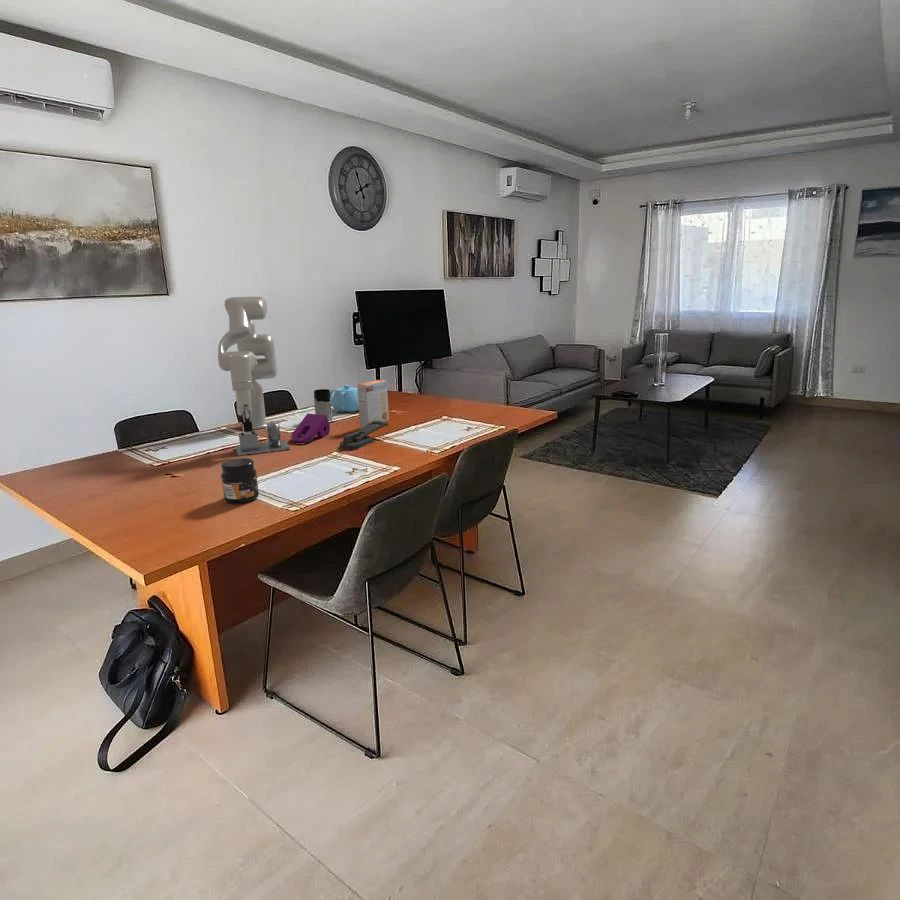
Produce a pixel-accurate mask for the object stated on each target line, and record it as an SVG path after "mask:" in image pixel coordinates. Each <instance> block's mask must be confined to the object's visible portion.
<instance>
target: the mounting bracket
mask: <svg viewBox="0 0 900 900" xmlns="http://www.w3.org/2000/svg"><path fill="white" fill-rule="evenodd" d="M330 428H331V425H330V422H328V419H327V416H326V415H320V414H315V413H307V414H306V415H305V416H304V417H303V419H302V421H300V422H299V424H298V425H297V427H296V428H295V429H294V431H293V432H292V433H291V436H290V437H291V440H292V442H293V444H295V443H306V444H308V443H310V442H311V441H312V440H313V439H314V438H315V437H318V438H323V437H324V438H326V437H325V436H327V435H328V436H329V435H330V434H329V433H330V431H331V429H330ZM302 436H303V437H302ZM328 436H327V437H328Z"/></svg>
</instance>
